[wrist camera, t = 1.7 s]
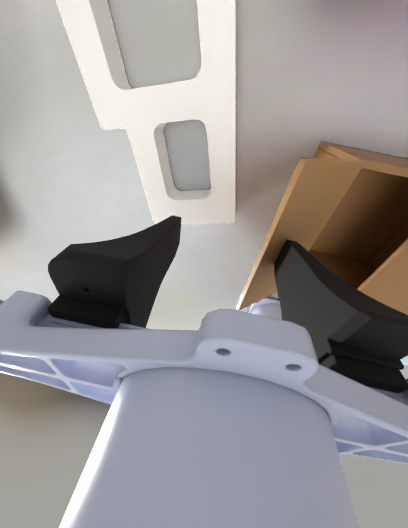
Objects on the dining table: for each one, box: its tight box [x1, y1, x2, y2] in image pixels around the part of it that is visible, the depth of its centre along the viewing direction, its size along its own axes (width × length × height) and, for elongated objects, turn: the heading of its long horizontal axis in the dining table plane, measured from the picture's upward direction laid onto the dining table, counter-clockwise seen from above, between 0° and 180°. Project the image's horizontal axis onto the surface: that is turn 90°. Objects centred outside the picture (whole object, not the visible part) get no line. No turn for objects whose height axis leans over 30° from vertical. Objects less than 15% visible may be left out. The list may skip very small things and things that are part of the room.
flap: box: [236, 158, 365, 311], centre depth 13 cm, size 6×11×1 cm
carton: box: [308, 141, 408, 314], centre depth 17 cm, size 12×11×8 cm
